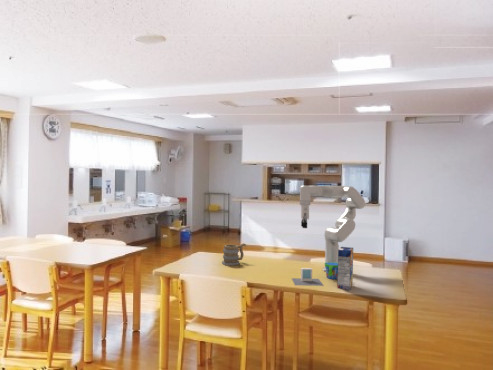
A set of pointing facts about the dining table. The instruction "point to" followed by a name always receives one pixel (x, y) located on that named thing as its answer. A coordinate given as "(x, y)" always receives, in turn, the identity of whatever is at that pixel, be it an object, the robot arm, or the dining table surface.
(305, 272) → the tile
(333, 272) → the snack cup
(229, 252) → the tankard
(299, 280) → the mat
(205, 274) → the dining table surface
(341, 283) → the juice carton
